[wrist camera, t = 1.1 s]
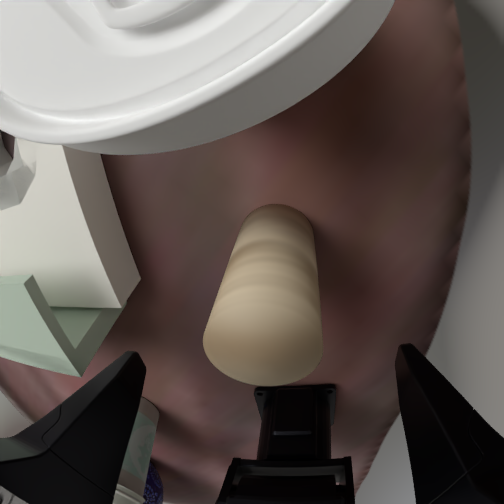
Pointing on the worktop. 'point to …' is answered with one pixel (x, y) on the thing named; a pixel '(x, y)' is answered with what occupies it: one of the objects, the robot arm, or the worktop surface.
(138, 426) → the coffee cup
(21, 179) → the socket
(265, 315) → the peg
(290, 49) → the beverage can
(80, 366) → the mint green folder
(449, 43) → the worktop surface
